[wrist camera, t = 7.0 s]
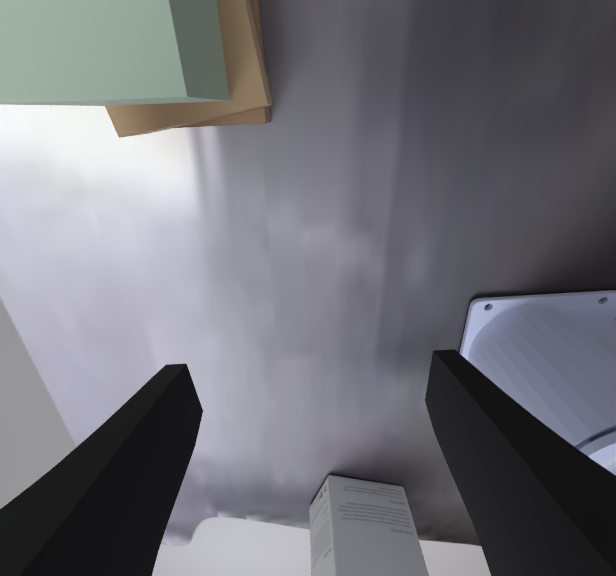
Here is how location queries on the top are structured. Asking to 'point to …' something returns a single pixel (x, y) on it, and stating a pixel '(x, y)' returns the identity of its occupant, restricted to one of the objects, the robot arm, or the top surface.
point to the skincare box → (363, 531)
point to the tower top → (240, 76)
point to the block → (111, 52)
